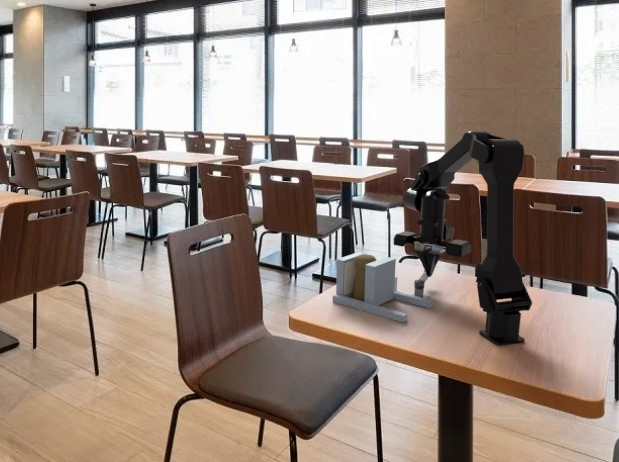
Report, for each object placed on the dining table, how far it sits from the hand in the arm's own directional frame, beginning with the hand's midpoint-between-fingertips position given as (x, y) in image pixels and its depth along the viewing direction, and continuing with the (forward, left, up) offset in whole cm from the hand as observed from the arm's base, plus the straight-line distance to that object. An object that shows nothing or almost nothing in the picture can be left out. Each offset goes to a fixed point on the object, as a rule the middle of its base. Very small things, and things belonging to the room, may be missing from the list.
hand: (429, 276), depth 135 cm
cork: (-1, +18, -4) cm, 19 cm away
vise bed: (-3, +14, -4) cm, 15 cm away
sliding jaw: (-4, +16, -4) cm, 17 cm away
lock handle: (0, +2, -1) cm, 2 cm away
